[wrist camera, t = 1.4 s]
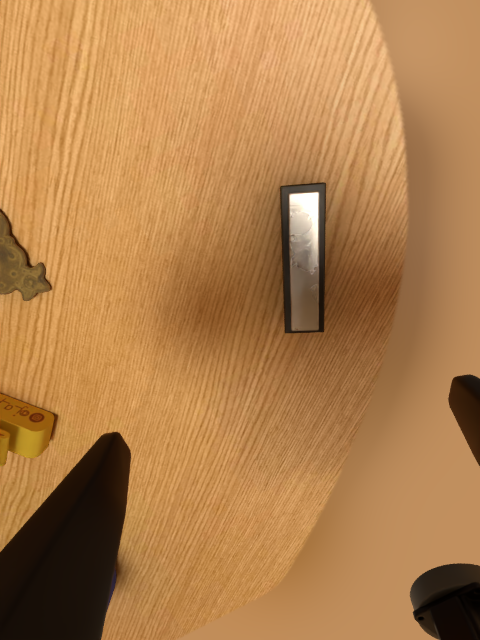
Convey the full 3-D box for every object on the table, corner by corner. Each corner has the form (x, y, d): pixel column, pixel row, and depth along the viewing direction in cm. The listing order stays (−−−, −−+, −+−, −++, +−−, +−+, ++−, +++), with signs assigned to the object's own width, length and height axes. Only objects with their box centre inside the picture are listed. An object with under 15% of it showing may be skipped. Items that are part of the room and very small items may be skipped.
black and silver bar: (320, 321, 23) (325, 336, 20) (284, 322, 23) (285, 337, 21) (321, 183, 20) (327, 181, 17) (280, 186, 20) (280, 185, 18)
